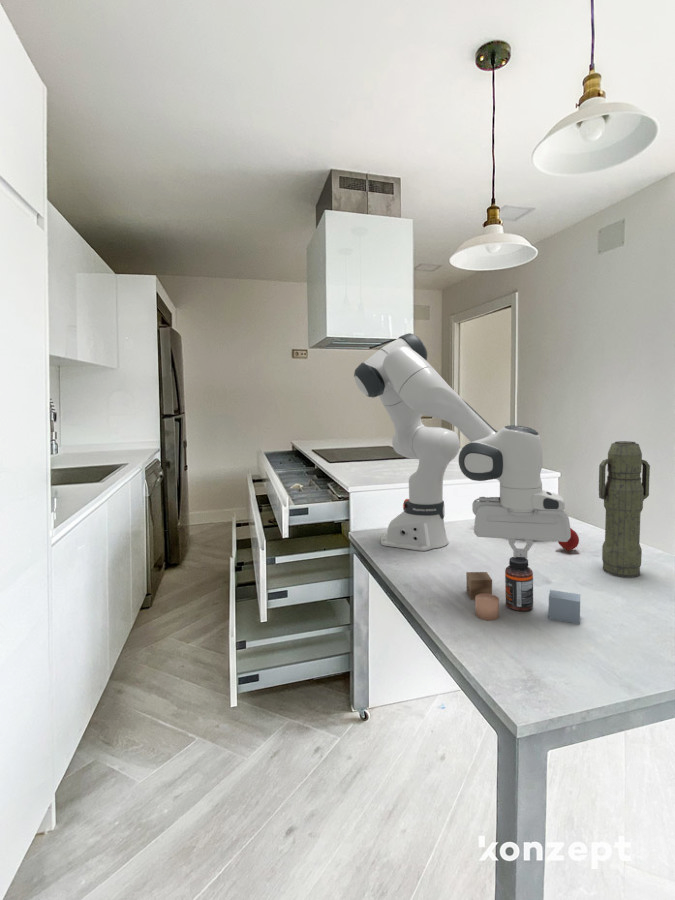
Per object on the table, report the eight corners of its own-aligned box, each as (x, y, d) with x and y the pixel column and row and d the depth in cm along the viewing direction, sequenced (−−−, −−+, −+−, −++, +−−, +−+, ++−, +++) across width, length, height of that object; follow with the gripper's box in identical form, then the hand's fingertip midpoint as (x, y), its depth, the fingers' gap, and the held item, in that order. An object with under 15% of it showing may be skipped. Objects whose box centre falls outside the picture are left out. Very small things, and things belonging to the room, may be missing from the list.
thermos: (654, 576, 118) (660, 442, 114) (609, 578, 118) (613, 444, 114) (632, 564, 127) (636, 439, 123) (590, 566, 127) (593, 441, 123)
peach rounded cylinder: (475, 619, 100) (474, 601, 99) (475, 608, 105) (475, 592, 104) (499, 621, 98) (499, 604, 98) (498, 611, 103) (498, 594, 103)
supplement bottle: (501, 601, 108) (500, 555, 106) (525, 599, 108) (524, 553, 107) (513, 613, 102) (512, 565, 100) (538, 610, 102) (537, 562, 101)
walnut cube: (471, 600, 109) (470, 580, 109) (466, 591, 114) (466, 572, 114) (492, 599, 109) (492, 579, 108) (486, 591, 114) (486, 571, 113)
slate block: (548, 618, 99) (548, 596, 98) (549, 611, 102) (550, 589, 102) (579, 624, 96) (580, 601, 95) (580, 616, 99) (580, 594, 99)
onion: (574, 548, 142) (574, 523, 141) (582, 554, 136) (582, 528, 135) (554, 548, 142) (554, 523, 141) (561, 554, 136) (562, 528, 136)
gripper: (471, 499, 102) (472, 558, 104) (572, 502, 96) (571, 565, 97) (472, 493, 108) (473, 549, 110) (567, 496, 102) (566, 555, 103)
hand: (520, 557), depth 103 cm, fingers closed
